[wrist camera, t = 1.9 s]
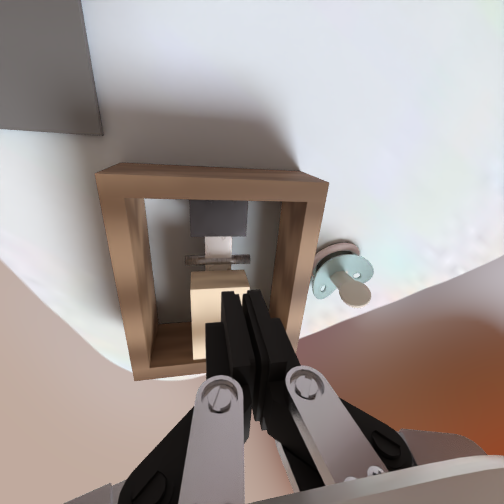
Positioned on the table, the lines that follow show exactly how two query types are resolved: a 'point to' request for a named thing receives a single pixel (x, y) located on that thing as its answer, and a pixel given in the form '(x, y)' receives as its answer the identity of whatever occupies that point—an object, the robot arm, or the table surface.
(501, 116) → the table surface
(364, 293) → the pacifier
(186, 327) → the block
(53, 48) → the rubber mat
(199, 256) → the lever
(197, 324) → the tan rectangular block
